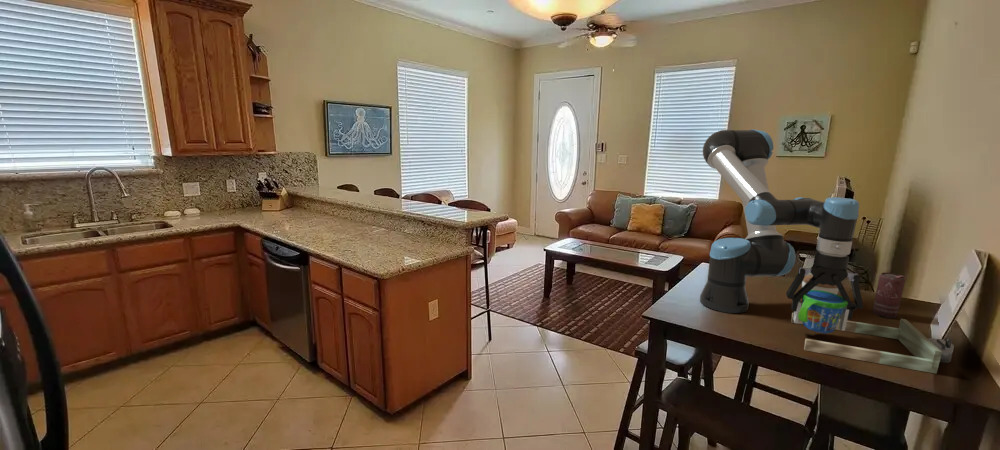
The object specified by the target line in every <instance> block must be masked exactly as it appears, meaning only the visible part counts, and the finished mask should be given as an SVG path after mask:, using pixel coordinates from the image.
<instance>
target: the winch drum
mask: <svg viewBox="0 0 1000 450" xmlns="http://www.w3.org/2000/svg"><path fill="white" fill-rule="evenodd" d="M927 339H928V340H929V341H931V342H932V343H933V344H934V345H935V346H936V347H937V348H938V349H939V350H940V351H942V354H941V358H940V362H939V363H944V364H947V363H948V364H949V363H951V361H952V356H953V352H954V348H955V345H954V344H953V343H952V342H953V338H951V337H946V339H942V338H934V337H931V338H930V337H929V338H927Z"/></svg>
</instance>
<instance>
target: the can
mask: <svg viewBox="0 0 1000 450" xmlns="http://www.w3.org/2000/svg"><path fill="white" fill-rule="evenodd" d="M877 281H878V283H877V286H876V292H875V296H874V301H873V307H872V313H873V315H876V316H877V317H881V318H885V319H896V318H897V317H898V314H899V309H900V305H901V302H902V301H901V300H902V295H903V291H904V286H905V283H906V277H905V276H904V275H901V274H897V273H893V272H881V274H879V277H878V280H877Z"/></svg>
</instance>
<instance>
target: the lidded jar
mask: <svg viewBox="0 0 1000 450" xmlns="http://www.w3.org/2000/svg"><path fill="white" fill-rule="evenodd" d="M812 277H813V275H812V274H808V275H806V276H805V277H804V279H803V281H802V282H801V288H802V287H803V286H804V285H805V284H806V283H807V282H809V280H810V279H811V278H812ZM811 290H820V291H826V292H830V293H834V294H837V295H838V294H839V290H838V288H837V286H836V285H834V286H831V285H828V284H826V285H823V284H820V283H819V284H818V285H817V286H815V287H814V288H813V289H811Z"/></svg>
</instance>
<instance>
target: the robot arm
mask: <svg viewBox="0 0 1000 450" xmlns="http://www.w3.org/2000/svg"><path fill="white" fill-rule="evenodd" d="M773 151H774V141H773V138H772V137H771V135H770V134H769V133H768V132H766V131H764V130H759V129H758V130H757V129H733V130H732V129H722V130H718V131H715V132H714V133H712V134H710V136H708V138H707V139H706V141H705V142H704V144H703V147H702V156H703V159H704V161H705V162H706V164H707V165H708V166H709V168H711V169H715V170H716V171H717V172H718V173H719V174H720V176H721V177H722V178H723V179H724V181H725V182H726V183H727V185H728V186H730V188H731V189H732V191H734V193H735V194H736V195H737V196H738V198H740V200H741V201H742V206H743V207H742V208H743V211H744V212H743V213H744V217H745V218H744V219H745V222H746V229H747V236H746V237H745V238H742V237H725V238H719V239H716V240H715V241H714V242H713V243H711V247H710V251H709V263H708V270H707V271H708V272H707V273H708V274H707V281H706V283H705V285H704V287H703V289H702V290H701V293H700V294H699V295H700V296H699V303H700V302H701V303H702V304H703V305H702V304H701V305H702V306H704V305H705V306H704V307H706V306H707V307H706V308H708V307H709V308H708V309H710V308H711V310H713V309H714V311H716V310H718V311H717V312H722V313H729V314H741V313H745V312H747V311H748V310H749V307H750V305H749V304H750V303H749V299H748V294H747V289H746V281H747V277H750V278H752V277H771V278H773V277H778V276H779V277H780V276H785V275H786V274H789V273H790V272H791V271H792V269H793V268H794V266H795V263H796V256H797V255H796V251H795V249H794V246H792V245H791V243H790V242H787V241H785V239H784V236H783V234H782V233H780V232H778V231H777V226H797V225H798V226H799V225H801V226H805V225H806V226H811V227H815V228H817V229H819V232H818V238H817V241H816V242H817V243H816V248H815V249H816V251H815V252H814V259H813V264H812V265H811V267H808V268H807V267H803V266H801V265H800V266H798V271H797V275H796V276H795V278H794V280H793V281H792V283H791V284H790V286H789V287H788V290H787V291H786V292H785V295H786V297H787V298H788V299H789V300H791V310H792V312H793V313H794V318H793V320H794V322H795V323H794V324H797V323H798V321H799V318H798V314H799V311H800V309H801V306H802V301H801V300H802V298H803V296H804V295H806V294H807V293H808V292H809V291H810V290H811V289H813V288H814V287H815V286H817V285H818V284H819V283H820V284H823V285H826V284H828V285H831V286H834V285H836V286H837V288H838V293H839V294H840V296H842V297H843V299H844V300H845V301H847V302H848V305H847V306H846V307H845V308H844V309H843V312H842V314H841V317H840V323H839V327H840V329H841V330H840V331H844V332H846V331H845V328H846V323H847V321H852V319H853V315H854V311H856V310H863V308H864V303H863V299H862V293H861V288H860V284H859V283H860V280H861V276H860V275H859V274H858V273H857V272H848V264H849V260H850V256H849V255H850V254H851V250H852V245H853V239H854V235H855V231H856V226H857V221H858V218H859V212H860V211H859V210H860V202H859V201H858V200H856V199H853V198H845V197H838V196H837V197H835V196H833V197H831V196H830V197H827V198H826V199H825V200H824V201H821V200H816V199H814V198H813V199H812V198H811V197H800V196H799V197H795V198H793V199H777V198H776V197H775V195H773V194H772V193H771V191H770V190H769V186H768V185H769V183H768V179H767V175H766V169H765V167H766V165H768V164H769V159H770V158H771V157H772V155H773ZM809 273H811V275H813V277H812V278H811V279H810V280H809V282H807V283H806V284H805V285H804V286H803V287H802V286H801V288H800V289H799V287H800V285H802V281H803V279H804V277H805V276H807V275H809ZM846 278H847V279H848V280H849V281H850V286H851V290H852V295H853V301H854V302H852V300H851V298H850V295H849V294H848V292H847V291H846V289H845V287H844V285H843V284H842V281H844V280H845V279H846Z"/></svg>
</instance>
